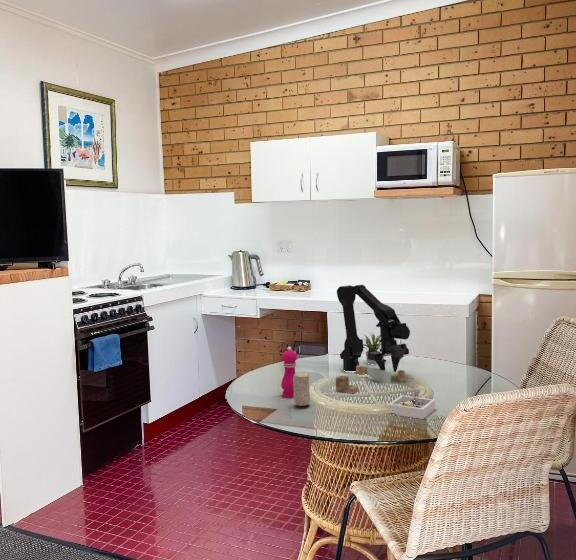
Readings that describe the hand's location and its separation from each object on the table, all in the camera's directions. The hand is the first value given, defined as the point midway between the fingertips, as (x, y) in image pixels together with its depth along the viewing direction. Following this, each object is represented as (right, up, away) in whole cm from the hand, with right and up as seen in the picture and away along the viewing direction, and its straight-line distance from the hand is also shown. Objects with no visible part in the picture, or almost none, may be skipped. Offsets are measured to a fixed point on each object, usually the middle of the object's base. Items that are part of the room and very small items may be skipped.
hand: (389, 373), depth 266 cm
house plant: (-1, -1, +31) cm, 31 cm away
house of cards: (+5, -8, -40) cm, 41 cm away
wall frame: (-4, -4, +1) cm, 6 cm away
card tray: (+1, -8, -42) cm, 43 cm away
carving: (-39, -8, -31) cm, 50 cm away
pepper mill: (-43, -7, -18) cm, 47 cm away
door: (-5, -4, -1) cm, 6 cm away
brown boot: (-20, -6, -15) cm, 25 cm away
